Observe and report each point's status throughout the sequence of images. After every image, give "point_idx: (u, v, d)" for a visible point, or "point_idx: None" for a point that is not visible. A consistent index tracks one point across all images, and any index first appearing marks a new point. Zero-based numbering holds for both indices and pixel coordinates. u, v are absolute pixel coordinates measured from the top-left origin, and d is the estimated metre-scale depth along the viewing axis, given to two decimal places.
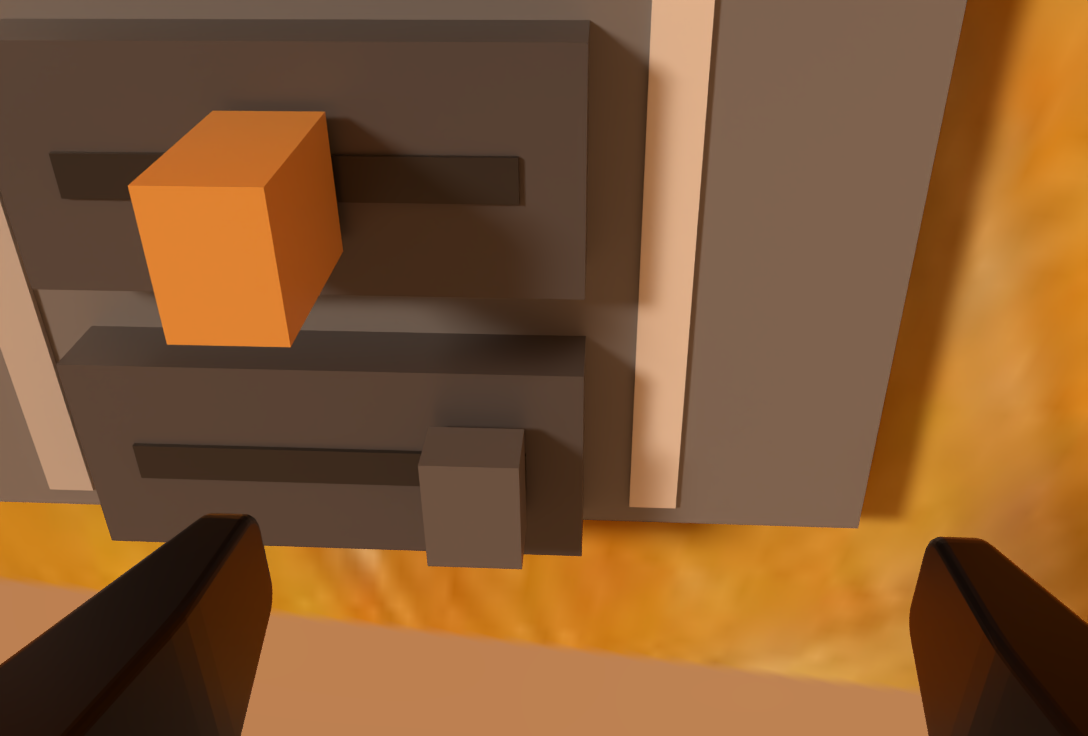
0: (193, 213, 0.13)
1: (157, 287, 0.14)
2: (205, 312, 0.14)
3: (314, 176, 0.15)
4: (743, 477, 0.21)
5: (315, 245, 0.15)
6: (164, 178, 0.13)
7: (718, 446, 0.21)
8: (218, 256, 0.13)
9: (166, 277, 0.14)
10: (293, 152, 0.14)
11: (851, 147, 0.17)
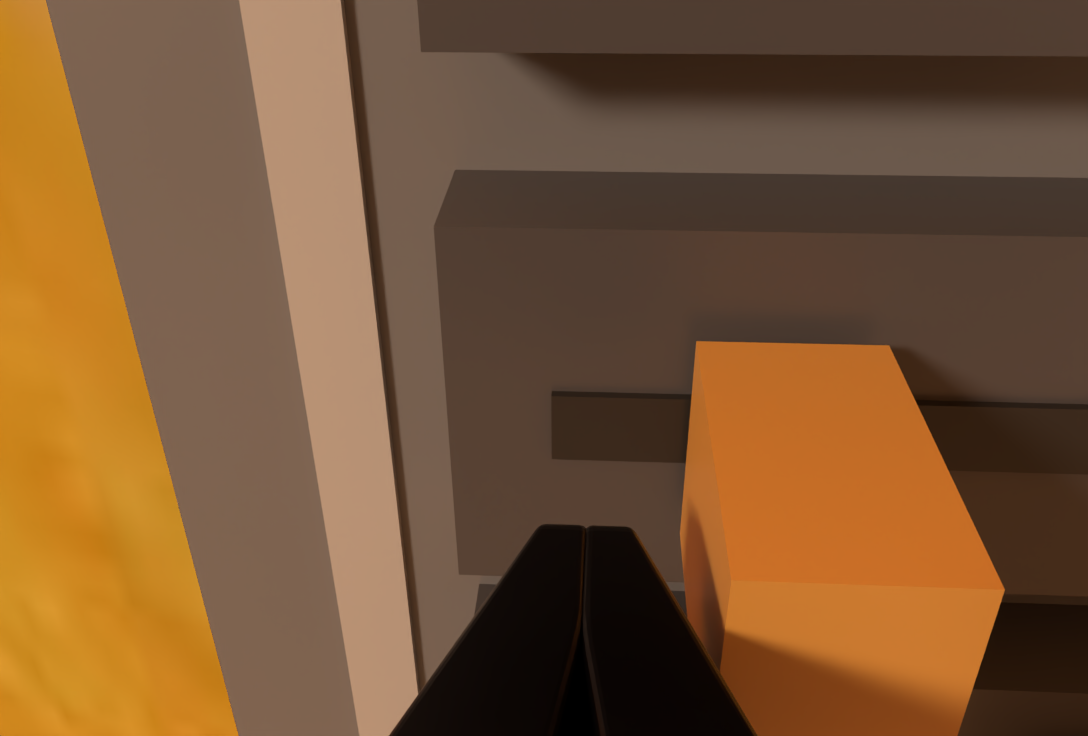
0: (843, 623, 0.07)
1: None
2: None
3: None
4: None
5: None
6: (784, 555, 0.07)
7: None
8: (860, 687, 0.07)
9: (745, 712, 0.07)
10: (944, 466, 0.08)
11: None
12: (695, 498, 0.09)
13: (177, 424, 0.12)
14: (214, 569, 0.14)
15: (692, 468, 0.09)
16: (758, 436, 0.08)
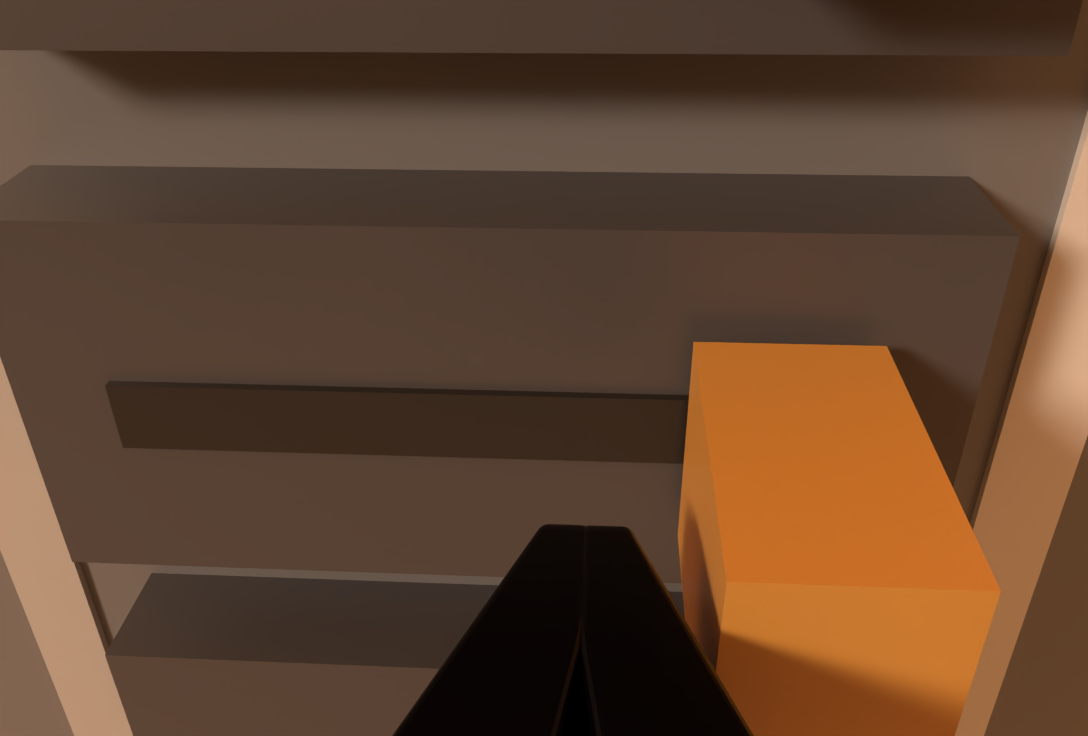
0: (839, 624, 0.07)
1: None
2: None
3: None
4: None
5: None
6: (781, 557, 0.07)
7: (1036, 733, 0.15)
8: (858, 687, 0.07)
9: (741, 713, 0.07)
10: (941, 466, 0.08)
11: None
12: (692, 499, 0.09)
13: None
14: None
15: (689, 469, 0.09)
16: (755, 437, 0.08)
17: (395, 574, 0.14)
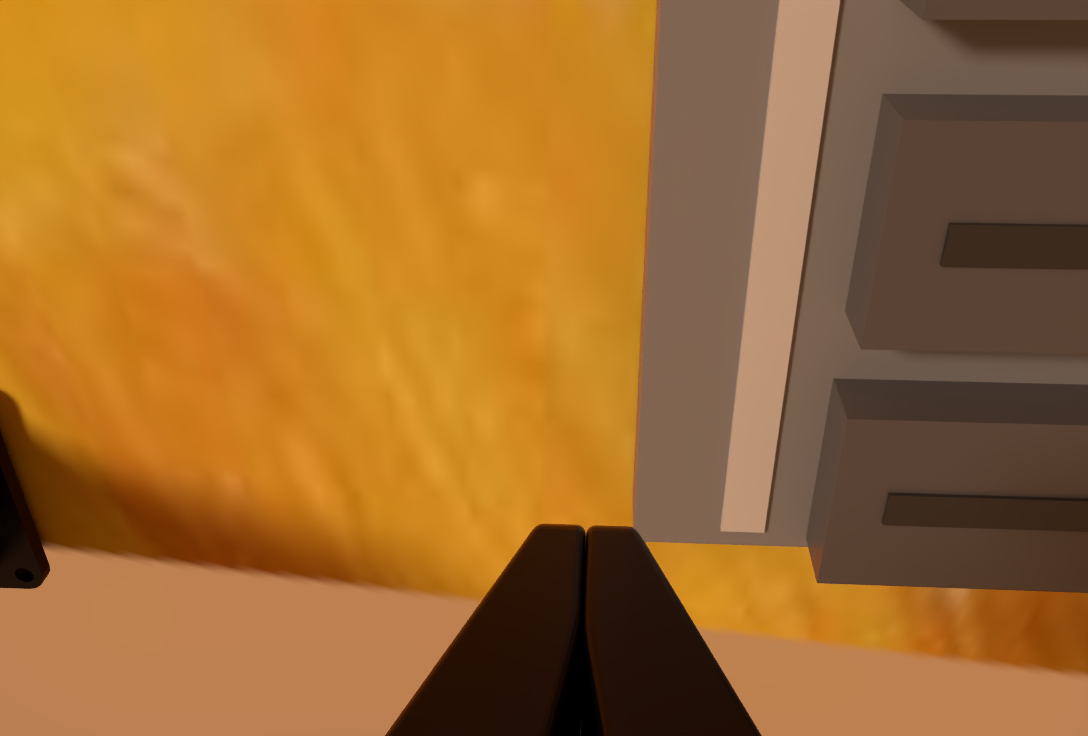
0: None
1: None
2: None
3: None
4: None
5: None
6: None
7: None
8: None
9: None
10: None
11: None
12: None
13: (661, 264, 0.20)
14: (655, 370, 0.21)
15: None
16: None
17: (1005, 377, 0.20)
